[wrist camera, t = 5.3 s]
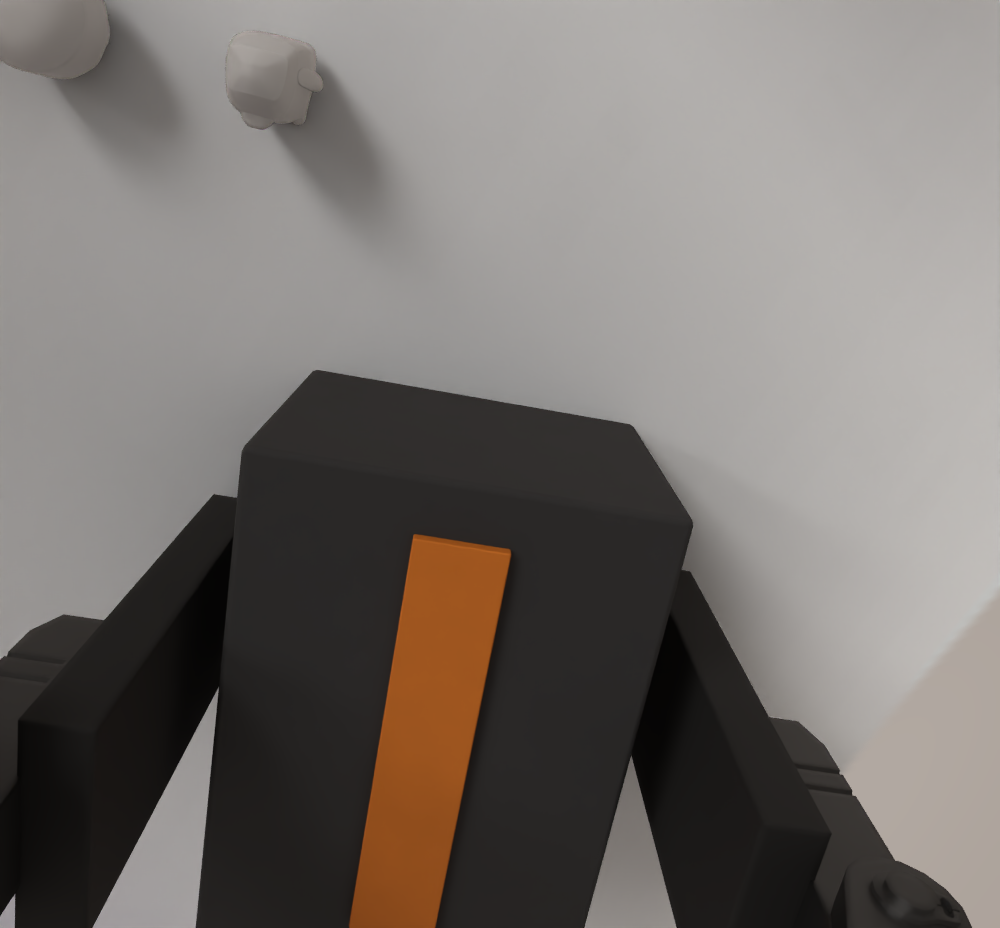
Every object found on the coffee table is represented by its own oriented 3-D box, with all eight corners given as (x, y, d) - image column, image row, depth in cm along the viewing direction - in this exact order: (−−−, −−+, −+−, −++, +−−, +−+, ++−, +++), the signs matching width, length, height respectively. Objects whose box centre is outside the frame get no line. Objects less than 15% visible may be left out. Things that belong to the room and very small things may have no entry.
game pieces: (-226, 42, 13) (-347, 16, 11) (-227, -120, 12) (-356, -175, 10) (313, 179, 13) (286, 178, 11) (338, 34, 13) (314, 9, 11)
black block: (312, 367, 14) (236, 449, 10) (634, 423, 15) (700, 525, 10) (268, 746, 16) (189, 951, 12) (547, 785, 17) (570, 997, 12)
